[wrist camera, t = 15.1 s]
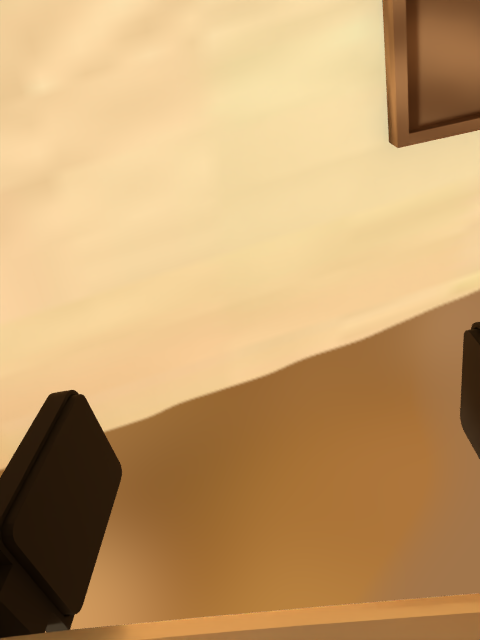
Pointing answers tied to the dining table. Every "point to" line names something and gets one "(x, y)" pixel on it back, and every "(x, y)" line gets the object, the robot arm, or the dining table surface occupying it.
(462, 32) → the walnut tray
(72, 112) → the dining table surface
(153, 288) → the dining table surface
